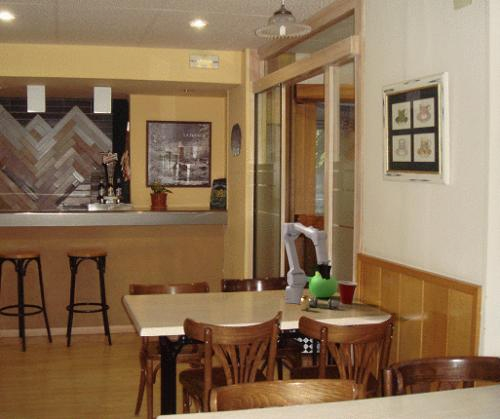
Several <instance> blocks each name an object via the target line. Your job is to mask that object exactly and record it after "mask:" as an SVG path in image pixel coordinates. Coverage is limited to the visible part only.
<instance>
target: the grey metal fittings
mask: <svg viewBox="0 0 500 419" xmlns="http://www.w3.org/2000/svg"><path fill="white" fill-rule="evenodd" d="M308 298H309V309H311V308H315V309H316V308H320V309H319V310H330V309H331V310H332V309H333V311H338V310H339V309H340V301H339V300H334V299H332V298H329V299H328V300H327V301H328V303H327V306H323V305H318V302H319V300H318V297H314V298H311V297H308ZM328 308H329V309H328ZM337 309H338V310H337Z"/></svg>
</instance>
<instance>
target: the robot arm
mask: <svg viewBox="0 0 500 419" xmlns="http://www.w3.org/2000/svg"><path fill="white" fill-rule="evenodd" d="M301 233H302V234H304V235H305V237H307V238H309V239H311V241H312V242H313V245H314V247H315V253H316V261H317V265H316V268H317V271H318V272H319V273H320V274H321V277H322V279H326V280H329V279H330V275H331V270H332V265H330V264H329V263H331V262H332V260H329V256H328V249H327V248H328V247H327V242H326V241H327V238H328V234H327V232H326V231H325V230H319V229H318V228H314V226H312V225H311V226H308V227H307V226H306V225H304V224H302V223H301V222H284V223H283V224H282V226H281V234H282V238H283V240H284V247H285V249H286V255H287V259H288V265H289V270H288V272H287V274H286V277H287V278H286V280H287V284H288V285H287V286H286V287H285V301H284V302H285V303H286V304H297V305H298V304H300V305H301V298H304V297H302V295H304V287H305V286H306V284H307V283H308V281H307V277H308V276H307V275H306V273H305V270H303V269H302V268H301V267H300V262H299V257H298V253H297V252H298V251H297V249H296V248H297V247H296V244H295V240H296V239H298V238H299V236H300V234H301Z"/></svg>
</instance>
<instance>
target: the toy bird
mask: <svg viewBox="0 0 500 419" xmlns="http://www.w3.org/2000/svg"><path fill="white" fill-rule="evenodd" d="M306 277H307V283H309V284H308V289H309V292H310V293H311V294H312V296H315V298H320V299H326V298H330V297H332V296H334V295H335V294H336V293H337V292H338V290H339V283H338V281H337V279H336V277H335V276H333V275H332V274H330V279H329V280H326V279H322V277H321V274H320V272H319V270H317V271H315V275H314V276H306Z"/></svg>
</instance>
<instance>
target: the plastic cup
mask: <svg viewBox="0 0 500 419" xmlns="http://www.w3.org/2000/svg"><path fill="white" fill-rule="evenodd" d="M337 283H338V290H339V297H340V303H341V304H342V305H352V304H353V300H354V297H355V291H356V287H357V286H358V283H357V282H354V281H348V280H338V281H337ZM351 303H352V304H351Z"/></svg>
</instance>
